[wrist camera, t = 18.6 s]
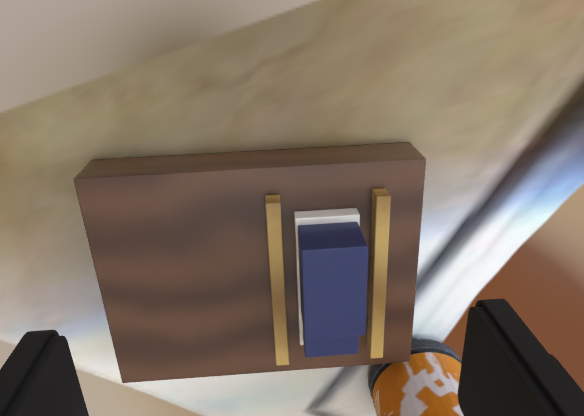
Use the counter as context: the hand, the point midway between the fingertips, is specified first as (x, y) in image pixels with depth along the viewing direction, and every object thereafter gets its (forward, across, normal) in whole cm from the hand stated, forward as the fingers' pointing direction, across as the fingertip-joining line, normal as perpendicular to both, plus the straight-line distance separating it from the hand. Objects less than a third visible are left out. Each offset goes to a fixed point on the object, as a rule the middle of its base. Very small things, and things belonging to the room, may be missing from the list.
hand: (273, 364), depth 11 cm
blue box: (+22, -4, +12) cm, 26 cm away
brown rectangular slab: (+26, +1, +12) cm, 29 cm away
